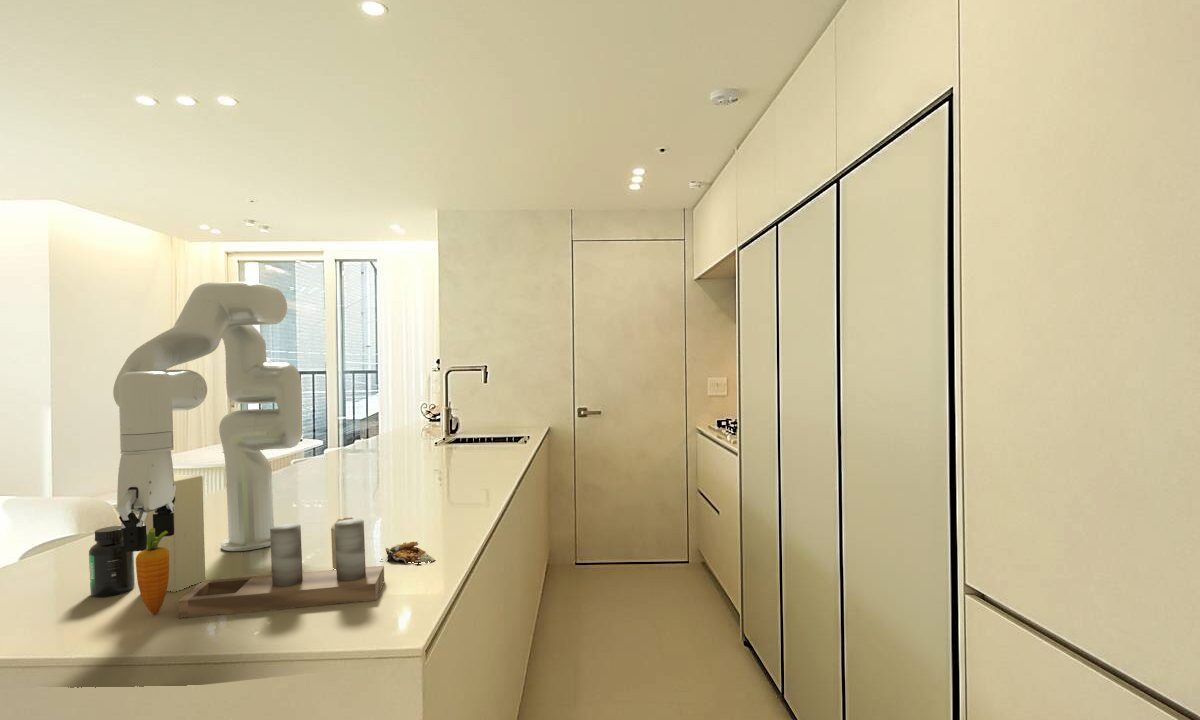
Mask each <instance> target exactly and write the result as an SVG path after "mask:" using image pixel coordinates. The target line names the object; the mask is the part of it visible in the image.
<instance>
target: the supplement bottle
mask: <svg viewBox="0 0 1200 720" xmlns="http://www.w3.org/2000/svg"><path fill="white" fill-rule="evenodd" d="M94 542H96V543H95V544H93V545H92V546H91V547H90V548H89V550H88V563H89V566H88V567H89V571H88V572H89V587H90V589H89V590H90V595H91V596H92V597H94V598H95V597H96V598H106V597H107V598H108V597H113V596H117V595H122V594H124V593H127V592H130V591H131V590H133V589H134V587H135V585H136V584H135V583H136V582H135V580H136V579H135V557H134V555H135V551H134V552H125V551H124V544H123V528H122V527H121V525H114V526H113V525H112V526H107V527H106V526H105V527H102V528H98V529H96V530H94Z"/></svg>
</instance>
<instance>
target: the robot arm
mask: <svg viewBox="0 0 1200 720" xmlns="http://www.w3.org/2000/svg"><path fill="white" fill-rule="evenodd" d="M287 311H288V303H287V299H286V297H285V295H284V293H283V292H282V291H281V289H279V288H278V287H275V286H272V285H266V284H263V283H260V282H259V283H258V282H252V281H213V282H206V283H201V284H200V285H199V284H198V286H197V287H195V288H193V290H192V292H191V293H190V295H189V298H188V299H187V300H186V303H185V305H184V306H183V309H182V310H181V312H180V314H179V315H178V317H177V320H176V322H175V323H174V325H173V327H171V328H170V329H167V330H165V331H163V332H162V333H159V334H158V335H156V336H155V337H153V338H152V339H149V340H147V341H146V342H145V343H143V344H142V345H140V346H139V347H137V348H136V349H135V350H134V351H132V352H131V353H130V355H129V356H128V357H127V359H126V360H125V362H124V364H123V365H122V367H121V368H120V371H119V372H118V374H117V376H116V378H115V380H114V381H115V382H114V383H113V384H114V385H113V389H112V391H113V393H112V394H113V399H114V402H115V404H116V406H118V407H119V408H118V409H119V441H120V442H119V443H120V447H119V448H120V450H119V451H120V459H119V464H118V465H119V467H118V473H117V495H116V496H117V497H116V505H117V506H116V509H117V512H118V515H119V520H120V522H121V525H120V526H121V527H122V528H123V544H124V551H125V552H134V553H135V552H140V551H144V550H146V549H147V537H146V526H144V521H145V518H146V515H147V512H151V511H155V513H156V514H153V528H155V537H159V535H160V534H161V533H163V532H165V531H167V532H168V534H166V535H165V536H172V535H174V513H172V512H174V510H175V507H174V505H173V504H174V501H175V497H174V496H175V490H176V486H175V485H174V474H175V473H174V464H173V457H172V451H173V450H174V421H173V420H174V416H173V412H175V411H176V412H180V411H190V410H192V409H193V410H194V409H196V408H197V407H199V406H201V405H202V404H203V402H204V401H205V399H206V397H207V394H208V385H207V381H206V380H205V378H204V377H203V376H202V374H200V373H198V372H197V371H194V370H190V369H170V368H173V367H176V366H179V365H182V364H185V363H188V362H193V361H195V360H197V359H200V358H203V357H205V356H208V355H210V354H212V353H213V352H214V351H216V350H217V349H218V347H219V345H220V343H221V340H222V341H223V345H224V351H225V353H224V354H225V387H226V394H227V397H228V399H229V400H230V401H231V402H233V403H235V404H242V405H244V404H245V405H247V404H248V405H251V404H252V405H253V404H276V406H277V408H256V409H254V408H253V409H241V410H240V409H239V410H238V409H237V410H234V411H231V412H228V413H227V414H225V415H224V416H223V417H222V419H221V421H220V423H219V426H218V428H219V429H218V431H219V439H220V442H221V446H222V451H223V455H224V463H225V482H226V485H225V486H226V505H227V531H228V532H227V533H228V534H227V535H228V538H226V539H224V540H222V542H221V543H220V547H221V549H222V550H224V551H227V552H245V551H251V550H259V549H263V548H266V547H267V548H268V547H271V542H270V528H272V527H274V526H275V520H274V499H273V498H274V497H273V496H274V495H273V471H272V465H271V464H270V461H269V460H268V458H267V457H266V455H264V454H263V452H262V451H263V450H282V449H284V450H285V449H286V450H287V449H293V448H295V447H297V446H298V445H299V444H300V442H301V439H302V438H303V437H302V436H303V399H302V398H303V396H302V390H303V389H302V381H301V380H302V379H301V376H300V372H299V370H298V368H297V367H296V366H295V365H293V364H292V363H288V362H268V359H267V344H266V341H265V339H264V337H263V336H262V334H261V333H260V331H259V330H258V329H257V328H256V327H255V326H258V325H259V326H263V325H265V326H267V325H277V324H280V323H281V322H283V320H284V319H285V318H286V315H287V313H288V312H287ZM254 325H255V326H254ZM157 513H158V514H157ZM137 515H138V517H137Z"/></svg>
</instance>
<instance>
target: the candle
mask: <svg viewBox="0 0 1200 720" xmlns="http://www.w3.org/2000/svg"><path fill="white" fill-rule="evenodd" d="M349 519H354V518H353V517H343V518H342V519H340V518H338V519H337V520H336V521H335V522H334V524H333V525H332V526H331V528H330V531H331V533H330V535H331V536H330V537H331V560H332V569H333V568H334V569H336V545H335V523H337V522H339V521H343V520H349Z"/></svg>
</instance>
